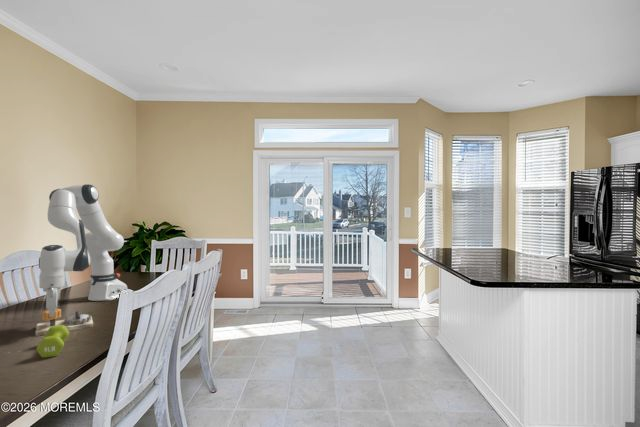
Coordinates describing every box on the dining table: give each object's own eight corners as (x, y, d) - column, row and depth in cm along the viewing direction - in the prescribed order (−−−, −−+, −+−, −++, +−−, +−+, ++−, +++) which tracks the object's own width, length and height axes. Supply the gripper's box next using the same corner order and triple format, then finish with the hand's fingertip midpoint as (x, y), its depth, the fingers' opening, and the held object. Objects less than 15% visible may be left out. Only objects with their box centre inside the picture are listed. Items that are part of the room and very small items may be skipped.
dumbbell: (63, 356, 123) (63, 336, 123) (34, 360, 119) (35, 340, 119) (70, 340, 137) (70, 322, 137) (45, 344, 133) (45, 325, 133)
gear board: (91, 318, 163) (91, 306, 163) (93, 326, 153) (93, 313, 153) (37, 327, 151) (37, 313, 151) (35, 336, 141) (35, 321, 141)
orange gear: (42, 317, 150) (42, 310, 150) (61, 314, 154) (61, 307, 154) (41, 321, 144) (41, 314, 144) (61, 318, 148) (61, 311, 148)
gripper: (61, 286, 142) (61, 318, 143) (61, 277, 159) (61, 307, 159) (42, 288, 139) (41, 321, 139) (44, 279, 155) (43, 309, 155)
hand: (52, 313), depth 149 cm, fingers closed on orange gear, 7 cm apart
